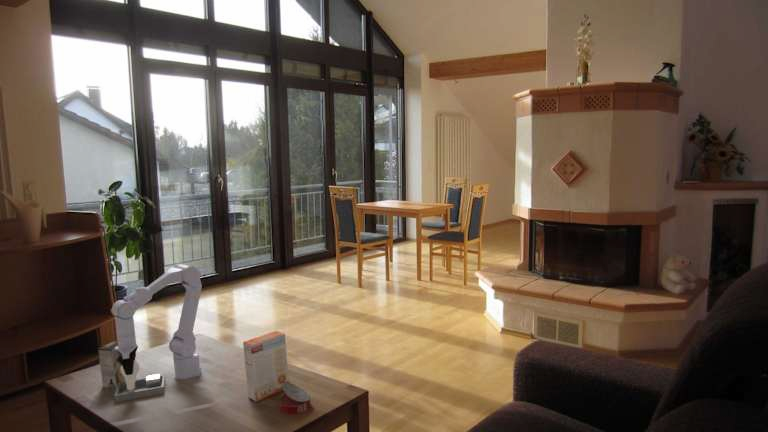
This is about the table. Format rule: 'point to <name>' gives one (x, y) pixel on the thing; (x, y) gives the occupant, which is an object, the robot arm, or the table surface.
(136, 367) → the lightbulb
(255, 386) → the cracker box
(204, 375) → the table surface
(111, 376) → the coffee box
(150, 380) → the steel block
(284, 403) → the canned food
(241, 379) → the table surface
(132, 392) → the tote
